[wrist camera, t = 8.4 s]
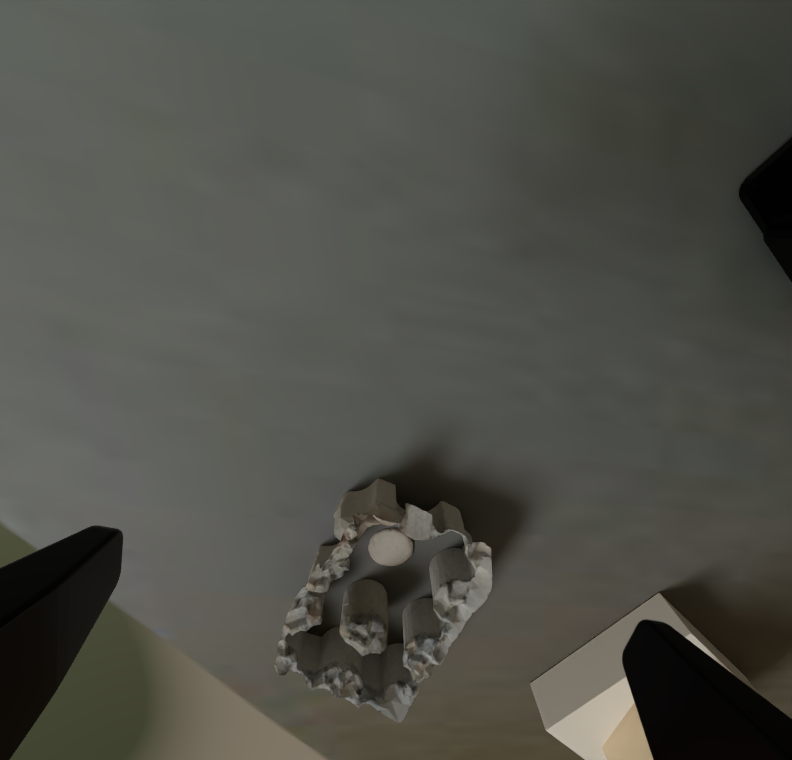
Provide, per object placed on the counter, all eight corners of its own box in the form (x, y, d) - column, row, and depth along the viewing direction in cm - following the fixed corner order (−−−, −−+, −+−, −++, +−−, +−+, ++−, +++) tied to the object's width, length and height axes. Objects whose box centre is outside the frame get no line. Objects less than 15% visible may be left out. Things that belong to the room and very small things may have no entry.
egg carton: (357, 458, 20) (352, 509, 16) (493, 516, 22) (519, 577, 18) (271, 619, 23) (250, 696, 19) (397, 662, 24) (400, 743, 21)
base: (658, 592, 23) (691, 633, 21) (743, 675, 25) (781, 720, 23) (529, 683, 25) (545, 730, 23) (619, 753, 27) (643, 802, 25)
